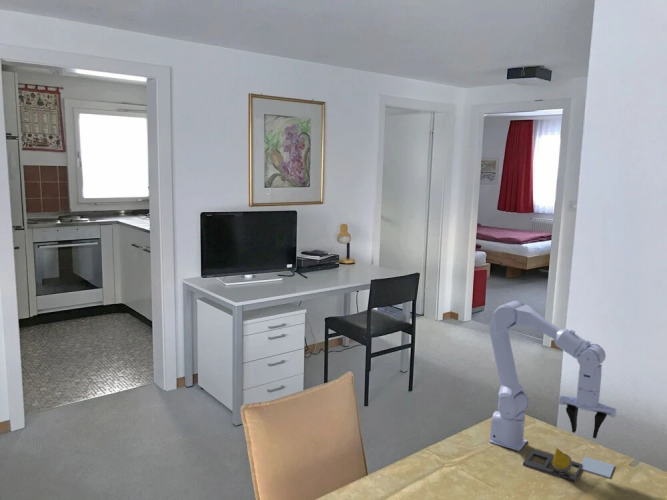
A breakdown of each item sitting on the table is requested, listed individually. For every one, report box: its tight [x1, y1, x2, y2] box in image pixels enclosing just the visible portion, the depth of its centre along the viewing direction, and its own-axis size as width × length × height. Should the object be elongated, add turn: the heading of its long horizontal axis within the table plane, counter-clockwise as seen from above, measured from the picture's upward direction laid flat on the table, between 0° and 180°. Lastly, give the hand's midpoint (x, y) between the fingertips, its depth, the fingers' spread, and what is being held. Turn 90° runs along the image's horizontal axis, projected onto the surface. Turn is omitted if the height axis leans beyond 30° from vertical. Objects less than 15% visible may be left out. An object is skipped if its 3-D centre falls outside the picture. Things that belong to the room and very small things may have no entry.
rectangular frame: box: [522, 449, 583, 483], centre depth 160 cm, size 14×10×1 cm
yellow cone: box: [550, 448, 573, 473], centre depth 156 cm, size 5×5×10 cm
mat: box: [580, 456, 616, 479], centre depth 160 cm, size 8×8×1 cm
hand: (584, 434), depth 158 cm, fingers open, 5 cm apart
